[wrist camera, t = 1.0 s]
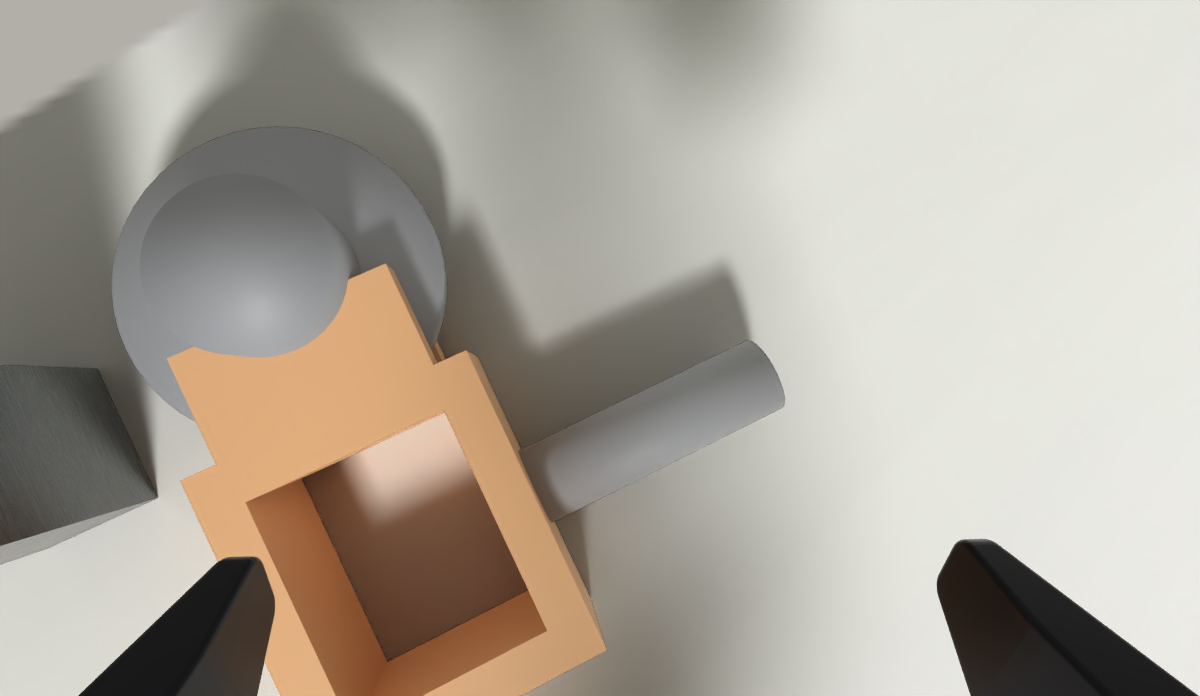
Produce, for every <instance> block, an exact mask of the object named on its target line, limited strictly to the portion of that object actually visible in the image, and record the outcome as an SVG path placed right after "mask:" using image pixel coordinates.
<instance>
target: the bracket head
mask: <svg viewBox="0 0 1200 696" xmlns="http://www.w3.org/2000/svg"><path fill="white" fill-rule="evenodd" d="M446 299H447V278H446V268H445V261H444V257H443V253H442V249H441V245H440V242H439V240H438V237H437V235H436V232H435V230H434V227H433V225H432V223H431V222H430V220H429V218H428V216H427V214H426V213H425V211H424V209H423V207H422V205H421V204H420V202H419V200H418V199H417V198H416V196H415V195H414V194H413V192H412V191H411V190H410V188H409V187H408V186H407V184H406V183H405V182H404V181H403V180H402V179H401V178H400V177H399V176H398V175H397V174H396V173H395V172H394V171H393V170H392V169H391V168H389V167H388V166H387V165H386V164H385V163H383V162H382V161H381V160H380V159H378V158H377V157H376V156H374V155H372V154H371V153H369V152H367V151H366V150H364V149H362V148H361V147H359V146H357V145H355V144H353V143H350V142H348V141H346V140H344V139H342V138H339V137H336V136H333V135H329V134H326V133H323V132H320V131H314V130H309V129H303V128H295V127H264V128H254V129H249V130H243V131H238V132H234V133H231V134H228V135H225V136H222V137H219V138H216V139H213V140H211V141H209V142H207V143H205V144H202V145H200V146H198V147H196V148H194V149H193V150H191V151H190V152H188V153H186V154H185V155H183V156H182V157H180V158H179V159H177V160H176V161H175V162H173V163H172V164H171V165H170V166H169V167H167V168H166V169H165V170H164V171H163V172H161V173H160V174H159V175H158V176H157V178H156V179H155V180H154V181H153V182H152V183H151V184H150V185H149V186H148V187H147V188H146V190H145V191H144V193H143V194H142V195H141V197H140V198H139V200H138V201H137V203H136V204H135V205H134V207H133V209H132V211H131V213H130V215H129V217H128V219H127V221H126V222H125V224H124V227H123V230H122V232H121V235H120V238H119V241H118V244H117V247H116V252H115V257H114V262H113V270H112V300H113V310H114V314H115V318H116V323H117V327H118V331H119V333H120V336H121V338H122V341H123V344H124V346H125V349H126V351H127V353H128V354H129V356H130V358H131V360H132V362H133V363H134V365H135V367H136V369H137V370H138V371H139V373H140V374H141V375H142V377H143V378H144V379H145V381H146V382H147V383H148V384H149V386H150V387H151V388H152V389H153V390H154V391H155V392H156V393H157V394H158V395H159V396H160V397H161V398H162V399H163V400H164V401H166V402H167V403H168V404H169V405H171V406H172V407H173V408H175V409H176V410H177V411H179V412H180V413H181V414H183V415H185V416H186V417H188V418H190V419H192V420H193V421H195V422H196V423H197V425H198V427H199V429H200V431H201V433H202V435H203V437H204V440H205V442H206V444H207V446H208V448H209V450H210V452H211V455H212V457H213V459H214V461H215V463H216V465H214V466H212V467H209V468H207V469H205V470H203V471H201V472H199V473H196V474H194V475H192V476H190V477H188V478H185V479H183V480H181V481H180V482H181V484H182V486H183V488H184V490H185V493H186V495H187V497H188V499H189V501H190V503H191V505H192V508H193V510H194V512H195V514H196V516H197V518H198V520H199V523H200V525H201V527H202V529H203V531H204V533H205V535H206V538H207V540H208V542H209V544H210V546H211V548H212V550H213V552H214V555H215V557H216V559H217V561H218V562H219V561H220V560H222V559H224V558H226V557H242V556H255V557H258V558H259V559H260V560H261V561H262V563H263V565H264V568H265V571H266V574H267V576H268V579H269V582H270V585H271V588H272V591H273V593H274V597H275V614H274V619H273V624H272V629H271V633H270V638H269V642H268V647H267V652H266V656H265V661H264V662H265V664H266V666H267V668H268V670H269V672H270V674H271V677H272V679H273V681H274V683H275V685H276V687H277V689H278V692H279V694H280V696H522V695H523V694H525V693H527V692H529V691H531V690H533V689H535V688H537V687H539V686H540V685H542V684H544V683H546V682H548V681H550V680H552V679H554V678H556V677H557V676H559V675H561V674H563V673H565V672H567V671H569V670H571V669H573V668H574V667H576V666H578V665H580V664H582V663H584V662H586V661H588V660H590V659H591V658H593V657H595V656H597V655H599V654H601V653H603V652H605V651H607V649H606V646H605V642H604V639H603V636H602V633H601V629H600V626H599V623H598V620H597V616H596V613H595V610H594V607H593V603H592V600H591V598H590V595H589V593H588V591H587V589H586V587H585V585H584V583H583V580H582V578H581V576H580V574H579V572H578V570H577V568H576V566H575V563H574V561H573V559H572V557H571V555H570V553H569V551H568V549H567V546H566V544H565V542H564V540H563V538H562V536H561V534H560V531H559V529H558V527H557V525H556V523H555V521H557V520H559V519H561V518H563V517H565V516H567V515H569V514H571V513H573V512H575V511H577V510H579V509H581V508H583V507H585V506H587V505H589V504H591V503H593V502H595V501H597V500H599V499H601V498H603V497H605V496H607V495H609V494H611V493H613V492H615V491H617V490H619V489H621V488H623V487H625V486H627V485H629V484H631V483H633V482H635V481H637V480H639V479H641V478H643V477H645V476H647V475H649V474H651V473H653V472H655V471H657V470H659V469H661V468H663V467H665V466H667V465H669V464H671V463H673V462H675V461H677V460H679V459H681V458H683V457H685V456H687V455H689V454H691V453H693V452H695V451H697V450H699V449H701V448H703V447H705V446H707V445H709V444H711V443H713V442H715V441H717V440H719V439H721V438H723V437H725V436H727V435H729V434H731V433H733V432H735V431H737V430H739V429H741V428H743V427H745V426H747V425H749V424H751V423H753V422H755V421H757V420H759V419H761V418H763V417H765V416H767V415H769V414H771V413H773V412H775V411H777V410H779V409H781V408H783V407H784V404H785V396H784V391H783V387H782V384H781V382H780V379H779V377H778V374H777V372H776V370H775V368H774V367H773V365H772V363H771V362H770V360H769V358H768V357H767V356H766V354H765V353H764V352H763V350H762V349H761V348H760V347H759V346H758V345H757V344H755V343H754V342H752V341H750V340H747V341H745V342H743V343H741V344H739V345H737V346H735V347H733V348H730V349H728V350H726V351H724V352H722V353H720V354H718V355H716V356H714V357H712V358H710V359H708V360H706V361H704V362H701V363H699V364H697V365H695V366H693V367H691V368H689V369H687V370H685V371H683V372H681V373H679V374H677V375H674V376H672V377H670V378H668V379H666V380H664V381H662V382H660V383H658V384H656V385H654V386H652V387H650V388H647V389H645V390H643V391H641V392H639V393H637V394H635V395H633V396H631V397H629V398H627V399H625V400H623V401H621V402H618V403H616V404H614V405H612V406H610V407H608V408H606V409H604V410H602V411H600V412H598V413H596V414H594V415H591V416H589V417H587V418H585V419H583V420H581V421H579V422H577V423H575V424H573V425H571V426H569V427H567V428H564V429H562V430H560V431H558V432H556V433H554V434H552V435H550V436H548V437H546V438H544V439H542V440H540V441H537V442H535V443H533V444H531V445H529V446H527V447H525V448H523V449H521V448H520V446H519V444H518V442H517V440H516V438H515V436H514V433H513V431H512V429H511V427H510V425H509V423H508V421H507V419H506V416H505V414H504V412H503V410H502V408H501V406H500V404H499V401H498V399H497V397H496V395H495V393H494V391H493V389H492V387H491V384H490V382H489V380H488V378H487V376H486V374H485V372H484V370H483V367H482V365H481V363H480V361H479V359H478V357H477V356H475V355H473V354H472V353H470V352H468V351H467V350H465V351H463V352H461V353H459V354H456V355H454V356H452V357H450V358H448V359H445V356H444V354H443V352H442V350H441V348H440V346H439V344H438V342H437V339H438V336H439V333H440V330H441V326H442V323H443V319H444V313H445V307H446ZM444 412H445V414H446V416H447V418H448V420H449V422H450V424H451V427H452V429H453V431H454V433H455V435H456V437H457V439H458V441H459V444H460V446H461V448H462V450H463V452H464V454H465V456H466V458H467V461H468V463H469V465H470V467H471V469H472V471H473V473H474V476H475V478H476V480H477V482H478V484H479V486H480V488H481V490H482V493H483V495H484V497H485V499H486V501H487V503H488V505H489V508H490V510H491V512H492V514H493V516H494V518H495V520H496V522H497V525H498V527H499V529H500V531H501V533H502V535H503V537H504V540H505V542H506V544H507V546H508V548H509V550H510V552H511V554H512V557H513V559H514V561H515V563H516V565H517V567H518V569H519V572H520V574H521V576H522V578H523V580H524V582H525V584H526V586H527V589H528V591H526V592H524V593H522V594H520V595H518V596H516V597H514V598H512V599H510V600H508V601H506V602H504V603H502V604H500V605H498V606H496V607H494V608H492V609H490V610H488V611H486V612H484V613H482V614H481V615H479V616H477V617H475V618H473V619H471V620H469V621H467V622H465V623H463V624H461V625H459V626H457V627H455V628H453V629H451V630H449V631H447V632H445V633H443V634H441V635H439V636H437V637H435V638H433V639H431V640H430V641H428V642H426V643H424V644H422V645H420V646H418V647H416V648H414V649H412V650H410V651H408V652H406V653H404V654H402V655H400V656H398V657H396V658H394V659H392V660H390V661H388V662H387V659H386V657H385V655H384V653H383V651H382V649H381V647H380V645H379V642H378V640H377V638H376V636H375V634H374V632H373V630H372V627H371V625H370V623H369V621H368V619H367V617H366V615H365V612H364V610H363V608H362V606H361V604H360V602H359V600H358V598H357V595H356V593H355V591H354V589H353V587H352V585H351V583H350V580H349V578H348V576H347V574H346V572H345V570H344V568H343V565H342V563H341V561H340V559H339V557H338V555H337V553H336V551H335V548H334V546H333V544H332V542H331V540H330V538H329V536H328V533H327V531H326V529H325V527H324V525H323V523H322V521H321V518H320V516H319V514H318V512H317V510H316V508H315V506H314V504H313V501H312V499H311V497H310V495H309V493H308V491H307V489H306V486H305V484H304V482H303V480H302V479H303V478H305V477H307V476H309V475H311V474H313V473H315V472H318V471H320V470H322V469H324V468H326V467H328V466H330V465H333V464H335V463H337V462H339V461H341V460H343V459H345V458H348V457H350V456H352V455H354V454H356V453H358V452H360V451H363V450H365V449H367V448H369V447H371V446H373V445H375V444H377V443H380V442H382V441H384V440H386V439H388V438H390V437H392V436H395V435H397V434H399V433H401V432H403V431H405V430H407V429H410V428H412V427H414V426H416V425H418V424H420V423H422V422H425V421H427V420H429V419H431V418H433V417H435V416H437V415H439V414H442V413H444Z"/></svg>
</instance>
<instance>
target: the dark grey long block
mask: <svg viewBox="0 0 1200 696" xmlns="http://www.w3.org/2000/svg"><path fill="white" fill-rule="evenodd" d="M156 498H158V497H157V495H156V493H155V491H154V489H153V487H152V485H151V482H150V480H149V478H148V476H147V474H146V472H145V470H144V467H143V465H142V463H141V461H140V459H139V457H138V455H137V452H136V450H135V448H134V446H133V444H132V442H131V440H130V437H129V435H128V433H127V431H126V429H125V427H124V425H123V422H122V420H121V418H120V416H119V414H118V412H117V410H116V408H115V405H114V403H113V401H112V399H111V397H110V395H109V393H108V390H107V388H106V386H105V384H104V382H103V380H102V378H101V375H100V373H99V371H98V369H94V368H69V367H44V366H19V365H0V565H1V564H4V563H7V562H10V561H13V560H15V559H18V558H21V557H24V556H27V555H30V554H33V553H36V552H39V551H42V550H45V549H48V548H50V547H52V546H54V545H56V544H58V543H61V542H63V541H65V540H67V539H69V538H72V537H74V536H76V535H78V534H80V533H82V532H85V531H87V530H89V529H91V528H93V527H95V526H98V525H100V524H102V523H104V522H106V521H109V520H111V519H113V518H115V517H117V516H119V515H122V514H124V513H126V512H128V511H130V510H133V509H135V508H137V507H139V506H141V505H143V504H146V503H148V502H150V501H152V500H154V499H156Z"/></svg>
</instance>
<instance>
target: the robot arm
mask: <svg viewBox="0 0 1200 696" xmlns="http://www.w3.org/2000/svg"><path fill="white" fill-rule="evenodd" d="M937 592H938V597H939V600H940V603H941V606H942V609H943V612H944V615H945V618H946V621H947V625H948V628H949V631H950V634H951V637H952V640H953V643H954V646H955V649H956V652H957V655H958V658H959V662H960V665H961V668H962V671H963V674H964V677H965V680H966V683H967V686H968V689H969V692H970V695H971V696H1198V695H1197V694H1195V693H1194V692H1193V691H1191V690H1190V689H1189V688H1188V687H1186V686H1185V685H1184V684H1182V683H1181V682H1180V681H1178V680H1177V679H1176V678H1174V677H1173V676H1172V675H1170V674H1169V673H1168V672H1166V671H1165V670H1164V669H1162V668H1161V667H1160V666H1158V665H1157V664H1156V663H1154V662H1153V661H1152V660H1150V659H1149V658H1148V657H1146V656H1145V655H1144V654H1142V653H1141V652H1140V651H1138V650H1137V649H1136V648H1135V647H1133V646H1132V645H1131V644H1129V643H1128V642H1127V641H1125V640H1124V639H1123V638H1121V637H1120V636H1119V635H1117V634H1116V633H1115V632H1113V631H1112V630H1111V629H1109V628H1108V627H1107V626H1105V625H1104V624H1103V623H1101V622H1100V621H1099V620H1097V619H1096V618H1095V617H1093V616H1092V615H1091V614H1089V613H1088V612H1087V611H1085V610H1084V609H1083V608H1082V607H1080V606H1079V605H1078V604H1076V603H1075V602H1074V601H1072V600H1071V599H1070V598H1068V597H1067V596H1066V595H1064V594H1063V593H1062V592H1060V591H1059V590H1058V589H1056V588H1055V587H1054V586H1052V585H1051V584H1050V583H1048V582H1047V581H1046V580H1044V579H1043V578H1042V577H1040V576H1039V575H1038V574H1036V573H1035V572H1034V571H1033V570H1031V569H1030V568H1029V567H1027V566H1026V565H1025V564H1023V563H1022V562H1021V561H1019V560H1018V559H1017V558H1015V557H1014V556H1013V555H1011V554H1010V553H1009V552H1007V551H1006V550H1005V549H1003V548H1002V547H1001V546H999V545H998V544H996V543H995V542H993V541H991V540H987V539H964V540H960V541H958V542H957V543H956V544H955V545H954V547H953V548H952V550H951V552H950V554H949V556H948V558H947V560H946V562H945V564H944V566H943V568H942V569H941V571H940V573H939V575H938V579H937ZM274 614H275V597H274V593H273V591H272V588H271V585H270V582H269V579H268V576H267V574H266V571H265V568H264V565H263V563H262V561H261V560H260V559H259V558H258V557H255V556H242V557H226V558H224V559H222V560H220V561H219V562H217V563H216V564H215V565H214V566H213V567H212V568H211V569H210V570H209V571H208V572H207V573H206V574H205V575H204V576H203V577H201V578H200V579H199V580H198V581H197V582H196V583H195V584H194V585H193V586H192V587H191V588H190V589H189V590H188V591H187V592H186V593H185V594H184V595H183V596H182V597H181V598H180V599H179V600H178V601H176V602H175V603H174V604H173V605H172V606H171V607H170V608H169V609H168V610H167V611H166V612H165V613H164V614H163V615H162V616H161V617H160V618H159V619H158V620H157V621H156V622H155V623H154V624H153V625H151V626H150V627H149V628H148V629H147V630H146V631H145V632H144V633H143V634H142V635H141V636H140V637H139V638H138V639H137V640H136V641H135V642H134V643H133V644H132V645H131V646H130V647H129V648H128V649H126V650H125V651H124V652H123V653H122V654H121V655H120V656H119V657H118V658H117V659H116V660H115V661H114V662H113V663H112V664H111V665H110V666H109V667H108V668H107V669H106V670H105V671H104V672H103V673H102V674H100V675H99V676H98V677H97V678H96V679H95V680H94V681H93V682H92V683H91V684H90V685H89V686H88V687H87V688H86V689H85V690H84V691H83V692H82V693H81V694H80V695H79V696H257V693H258V689H259V684H260V679H261V675H262V670H263V666H264V661H265V656H266V652H267V647H268V642H269V638H270V633H271V629H272V624H273V619H274Z"/></svg>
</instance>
